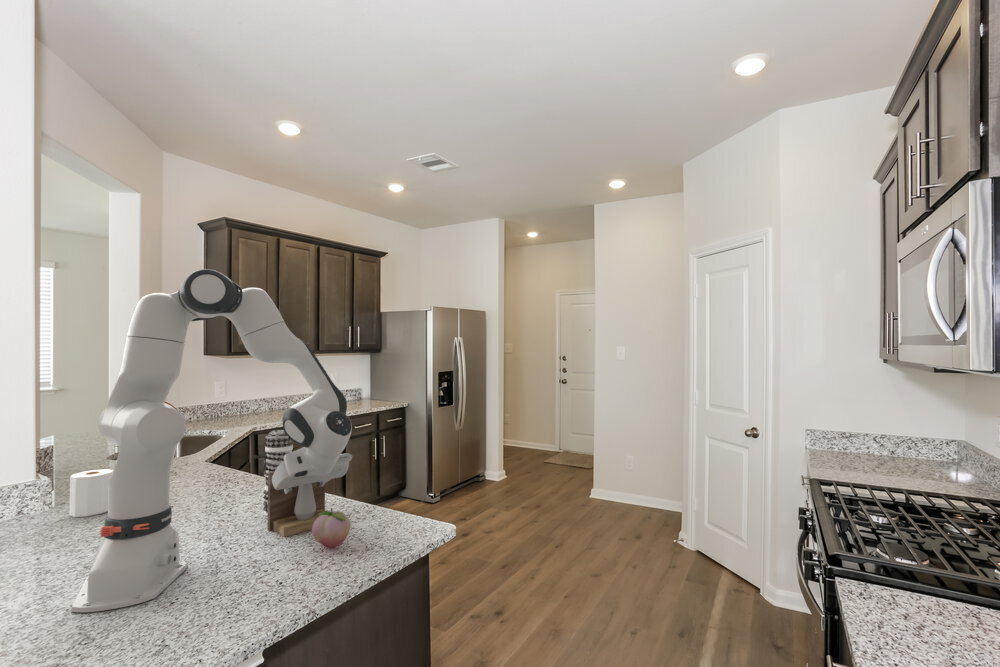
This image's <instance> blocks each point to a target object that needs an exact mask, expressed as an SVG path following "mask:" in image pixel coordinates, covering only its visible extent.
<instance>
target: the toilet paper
mask: <svg viewBox="0 0 1000 667" xmlns="http://www.w3.org/2000/svg"><path fill="white" fill-rule="evenodd" d="M113 472H114V469H109V468H104V469H93V470H92V469H91V470H85V471H84V470H83V471H81V472H76V473H73V474H71V475H70V478H69V484H70V485H69V509H68V510H69V512H68V514H69V517H73V518H81V517H90V516H91V517H92V516H95V515H101V514H104V513H106V512H107V513H108V487H109V479H110V477H111V476H112V474H113Z"/></svg>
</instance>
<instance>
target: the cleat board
mask: <svg viewBox="0 0 1000 667" xmlns="http://www.w3.org/2000/svg"><path fill="white" fill-rule="evenodd" d="M274 472H275V471H272V472H268V516H267V530H268V531H269V532H271V531H273V532H276V533H277V534H279V535H280V536H281V537H283V538H286V537H290V536H293V535H297V534H301V533H304V532H308V531H312V527H313V524H314V522H315V520H316V519H317V518H318V517H319V516H318V517H317V515H318V514H319V513H322V512H324V511H326V483H325V484H324V486H321V487H318V485H317V482H314V483H312V488H313V493H314V499H315V504H316V511H315V513H314V516H313V517H312V518H311V519H309V520H304V521H302V520H297V517H296V515H295V513H294V508H295V503H296V498H297V493H298V488H299V486H295V487H291V488H292V492H291V493H288V494H285V492H284V489H281V490H276V489H275V488H274V486H273V483H272V476H273V474H274Z"/></svg>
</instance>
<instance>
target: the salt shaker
mask: <svg viewBox="0 0 1000 667" xmlns="http://www.w3.org/2000/svg"><path fill="white" fill-rule="evenodd" d="M315 511H316V504H315V499H314V493H313V488H312V483H310V484H305V485H300V486H299V488H298V493H297V498H296V503H295V508H294V513H295V515H296V517H297V520H302V521H304V520H309V519H311V518H312V517H313V516H314V513H315Z"/></svg>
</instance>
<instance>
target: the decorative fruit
mask: <svg viewBox="0 0 1000 667" xmlns="http://www.w3.org/2000/svg"><path fill="white" fill-rule="evenodd" d="M318 516H319V517H318ZM317 517H318V518H317V519H316V520H315V522H314V524H313V527H312V529H311V533H312V536H313V537H314V539H315V541H317V543H319V544H320V545H321V546H323V547H325V548H327V549H334V548H335V547H338V546H340V545H341V544H343V543H344V541H345V540H346V539H347V537H348V535H349V533H350V528H351V521H350V518H349V517H348V516H347V515H346V514H345V513H344V512H341V511H333V508H330V511H329V510H325V511H324V512H322V513H319V514H318V515H317Z"/></svg>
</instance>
